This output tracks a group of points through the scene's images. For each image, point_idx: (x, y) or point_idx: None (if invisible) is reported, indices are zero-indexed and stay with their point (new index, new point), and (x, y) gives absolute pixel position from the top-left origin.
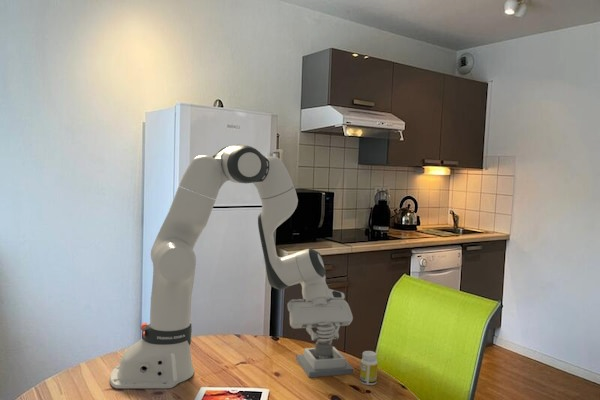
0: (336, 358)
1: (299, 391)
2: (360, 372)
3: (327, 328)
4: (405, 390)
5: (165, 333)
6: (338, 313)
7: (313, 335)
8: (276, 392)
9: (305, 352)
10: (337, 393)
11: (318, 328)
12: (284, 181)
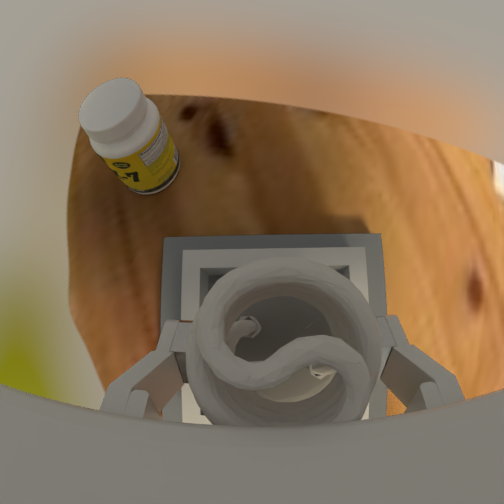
0: (232, 262)
1: (418, 149)
2: (170, 154)
3: (301, 259)
4: None
5: None
6: (50, 488)
7: (398, 328)
8: (477, 163)
9: None
10: (298, 112)
11: (379, 330)
12: None
